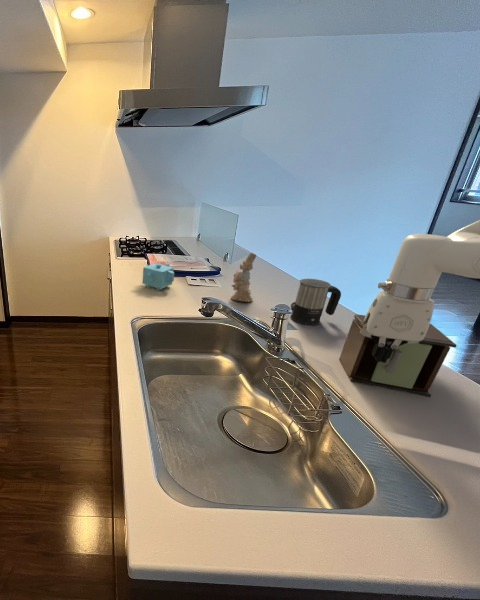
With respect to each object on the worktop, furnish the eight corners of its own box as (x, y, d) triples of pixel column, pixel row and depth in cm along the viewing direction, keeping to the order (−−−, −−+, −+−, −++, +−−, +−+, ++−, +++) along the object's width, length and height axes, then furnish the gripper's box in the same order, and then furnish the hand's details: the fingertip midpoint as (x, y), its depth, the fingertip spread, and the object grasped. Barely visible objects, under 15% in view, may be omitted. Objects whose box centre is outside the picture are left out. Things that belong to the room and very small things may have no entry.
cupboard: (409, 371, 88) (431, 323, 83) (430, 397, 79) (457, 345, 73) (338, 359, 95) (354, 314, 89) (350, 381, 85) (369, 332, 79)
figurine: (248, 296, 140) (257, 251, 132) (254, 303, 133) (264, 257, 125) (227, 295, 142) (234, 251, 134) (232, 302, 134) (240, 256, 126)
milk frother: (304, 326, 113) (315, 288, 108) (271, 309, 128) (279, 273, 122) (337, 322, 116) (349, 284, 110) (301, 305, 130) (310, 270, 124)
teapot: (133, 287, 153) (134, 264, 149) (155, 278, 164) (157, 257, 160) (161, 295, 143) (163, 271, 138) (182, 285, 154) (185, 263, 149)
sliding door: (410, 387, 81) (430, 344, 76) (417, 396, 78) (439, 352, 73) (370, 379, 84) (387, 337, 79) (375, 387, 81) (394, 345, 76)
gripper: (371, 291, 71) (346, 360, 78) (463, 301, 65) (426, 375, 73) (360, 281, 77) (337, 345, 85) (443, 289, 72) (411, 358, 79)
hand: (378, 359), depth 79 cm, fingers closed
